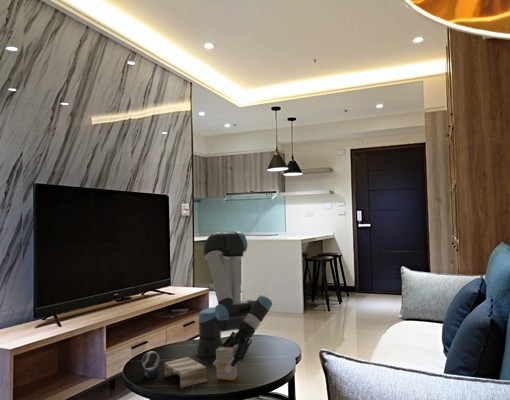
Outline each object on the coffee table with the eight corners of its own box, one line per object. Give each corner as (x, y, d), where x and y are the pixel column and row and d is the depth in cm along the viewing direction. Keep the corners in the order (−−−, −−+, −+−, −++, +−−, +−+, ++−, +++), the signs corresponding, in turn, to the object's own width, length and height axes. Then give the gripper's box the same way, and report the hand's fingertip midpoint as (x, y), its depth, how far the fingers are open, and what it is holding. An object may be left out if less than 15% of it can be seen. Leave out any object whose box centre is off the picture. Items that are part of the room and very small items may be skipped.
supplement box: (237, 377, 178) (236, 347, 179) (233, 381, 174) (232, 350, 174) (220, 375, 181) (220, 345, 182) (216, 379, 176) (215, 349, 177)
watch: (140, 376, 184) (140, 352, 184) (157, 372, 188) (157, 348, 189) (144, 380, 179) (143, 355, 180) (161, 376, 183) (161, 351, 184)
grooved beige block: (164, 376, 183) (164, 362, 184) (188, 369, 190) (188, 356, 191) (181, 388, 169) (181, 373, 169) (206, 381, 176) (206, 367, 176)
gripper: (268, 335, 178) (239, 381, 168) (240, 325, 196) (213, 366, 186) (258, 325, 176) (228, 371, 165) (231, 316, 193) (203, 357, 183)
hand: (220, 368), depth 176 cm, fingers closed on supplement box, 9 cm apart
